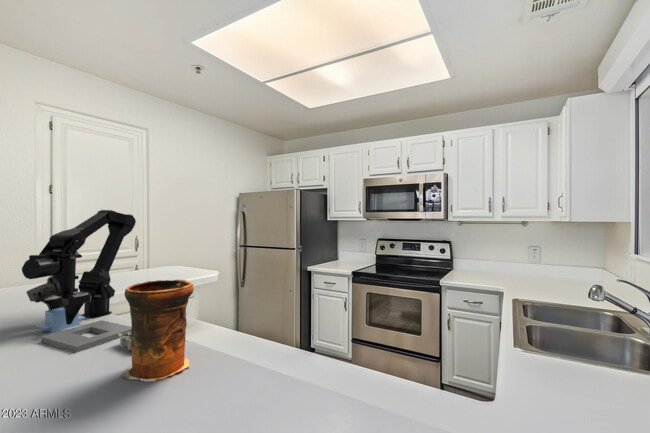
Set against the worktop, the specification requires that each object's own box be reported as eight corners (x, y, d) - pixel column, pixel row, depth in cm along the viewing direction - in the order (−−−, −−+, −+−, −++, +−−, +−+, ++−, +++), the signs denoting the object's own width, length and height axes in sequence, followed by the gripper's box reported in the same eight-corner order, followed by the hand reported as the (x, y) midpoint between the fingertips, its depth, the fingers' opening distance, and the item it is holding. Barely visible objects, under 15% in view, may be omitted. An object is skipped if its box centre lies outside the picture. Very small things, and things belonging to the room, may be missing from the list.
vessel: (155, 390, 63) (157, 292, 64) (107, 378, 68) (109, 287, 69) (205, 361, 77) (206, 281, 77) (162, 353, 82) (163, 277, 82)
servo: (36, 332, 93) (37, 310, 93) (77, 321, 103) (78, 302, 103) (44, 334, 91) (45, 312, 91) (84, 323, 102) (85, 303, 102)
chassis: (101, 324, 101) (101, 320, 101) (134, 332, 95) (135, 327, 95) (41, 342, 86) (41, 336, 86) (76, 352, 80) (76, 346, 80)
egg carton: (165, 345, 86) (165, 331, 86) (137, 355, 80) (138, 339, 80) (142, 337, 91) (143, 323, 91) (115, 346, 85) (116, 331, 85)
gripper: (14, 274, 94) (12, 326, 93) (50, 280, 86) (48, 336, 86) (58, 269, 104) (56, 315, 104) (93, 274, 97) (91, 324, 97)
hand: (62, 322), depth 97 cm, fingers open, 7 cm apart
